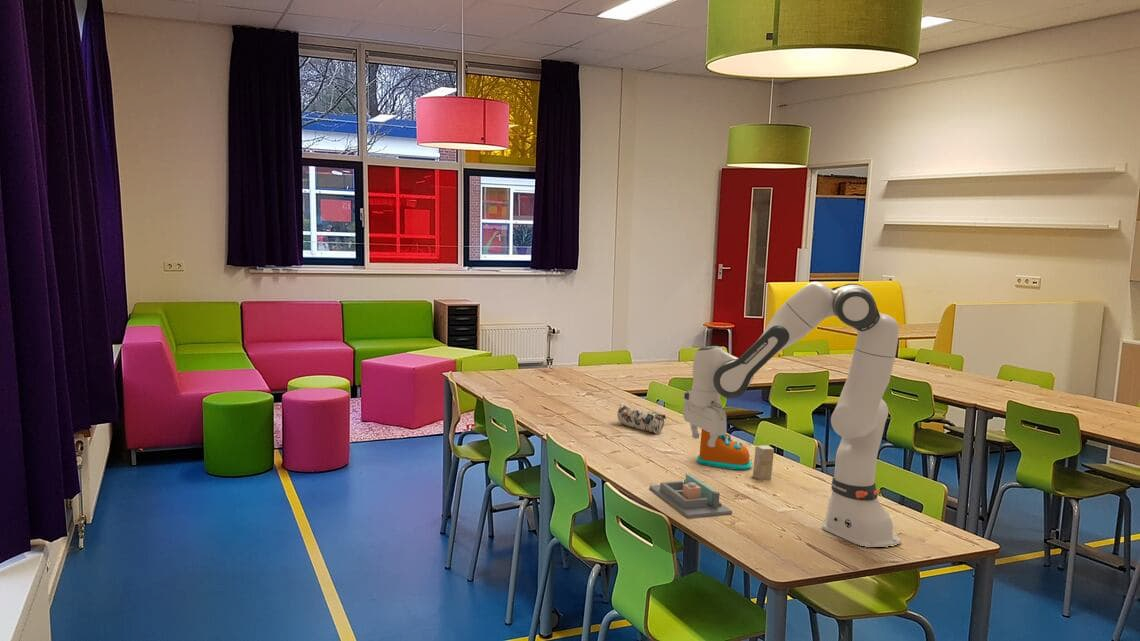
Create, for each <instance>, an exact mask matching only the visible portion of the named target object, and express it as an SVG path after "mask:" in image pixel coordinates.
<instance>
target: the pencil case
mask: <svg viewBox="0 0 1140 641" xmlns="http://www.w3.org/2000/svg"><path fill="white" fill-rule="evenodd" d="M619 406H620V407H618V409H617V416H616V417H617V419H618V421H619V422H620V423H621V424H622V425H624V426H627V427H630V428H633V429H637V430H640V431H644V432H648V433H650V434H651V433H652V434H655V435H660V434H661V432H662V430H663V428H664V426H665V420H666V419H667V417H666V414H662V413H661V412H660V410H659V411H654V410H652V411H650V410H647V409H642V408H637V407H632V406H631V405H628V403H624V402H621V403H620V404H619Z"/></svg>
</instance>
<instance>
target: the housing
mask: <svg viewBox="0 0 1140 641" xmlns="http://www.w3.org/2000/svg"><path fill="white" fill-rule="evenodd" d="M683 484H685V479H684V480H683V481H682V480H677V481H674V480H673V481H662V482H660V484H654V485H653V484H652V485H649V490H650V491H652V492H653V493H654V492H655V493H654V494H656V495H657V496H658V495H659V496H658V497H659V498H661V499H662V500H664V502H666V503H668V504H669V505H670V506H672V507H673V509H675V510H677V511H678V512H679V513H680V514H682V515H683V516H685V517H686V518H687V519H693V518H694V519H695V518H704V517H714V516H715V517H717V516H725V515H733V510H732V509H730V508H729V507H727V506H726V505H725V504H723V503H722V502H720V492H719V491H716V492H713V496H712V505H710V504H709V503H708V499H707V498H698V499H686V498H685V497H683Z"/></svg>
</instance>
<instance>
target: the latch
mask: <svg viewBox="0 0 1140 641" xmlns="http://www.w3.org/2000/svg"><path fill="white" fill-rule="evenodd" d="M684 480H685V484H688V483H689V482H693V483H696V485H698V486H699V487H701V497H700V498H707V499H708V503H709V504H710V505H712V496H713V492H717V491H716V490H715V489H713V488H712V487H710V486H709V485H707V484H706V483H704V482H703V481H700V480H699V479H698V478H697V477H695V476H693V475H692V474H690V473H685V479H684Z"/></svg>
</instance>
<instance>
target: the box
mask: <svg viewBox="0 0 1140 641" xmlns="http://www.w3.org/2000/svg"><path fill="white" fill-rule="evenodd" d="M754 452H755V453H754V460H753V471H752V476H753V477H754V478H756V479H757V480H772V473H773V465H774V464H773V462H774V456H775V455H774V453H775V448H773V447H771V446H770V445H755V450H754Z"/></svg>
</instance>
